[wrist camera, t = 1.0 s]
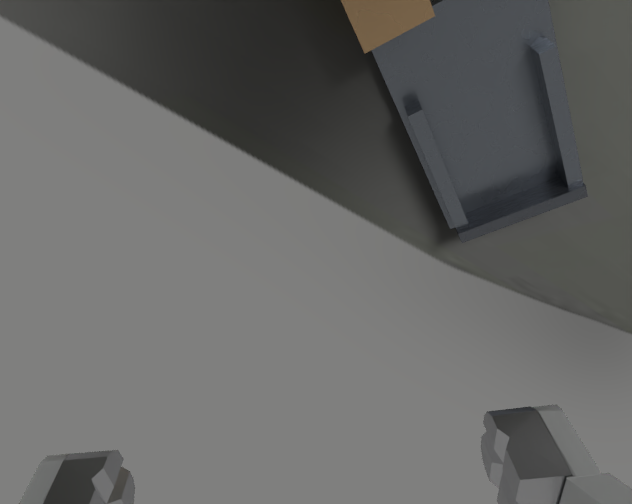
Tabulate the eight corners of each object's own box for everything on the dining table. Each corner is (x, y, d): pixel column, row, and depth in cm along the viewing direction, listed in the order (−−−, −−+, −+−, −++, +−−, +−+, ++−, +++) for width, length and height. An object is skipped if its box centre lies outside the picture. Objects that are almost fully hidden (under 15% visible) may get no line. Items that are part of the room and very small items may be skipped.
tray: (532, -54, 32) (552, -46, 29) (577, 172, 43) (595, 193, 40) (366, 37, 36) (370, 51, 33) (448, 223, 47) (455, 245, 44)
